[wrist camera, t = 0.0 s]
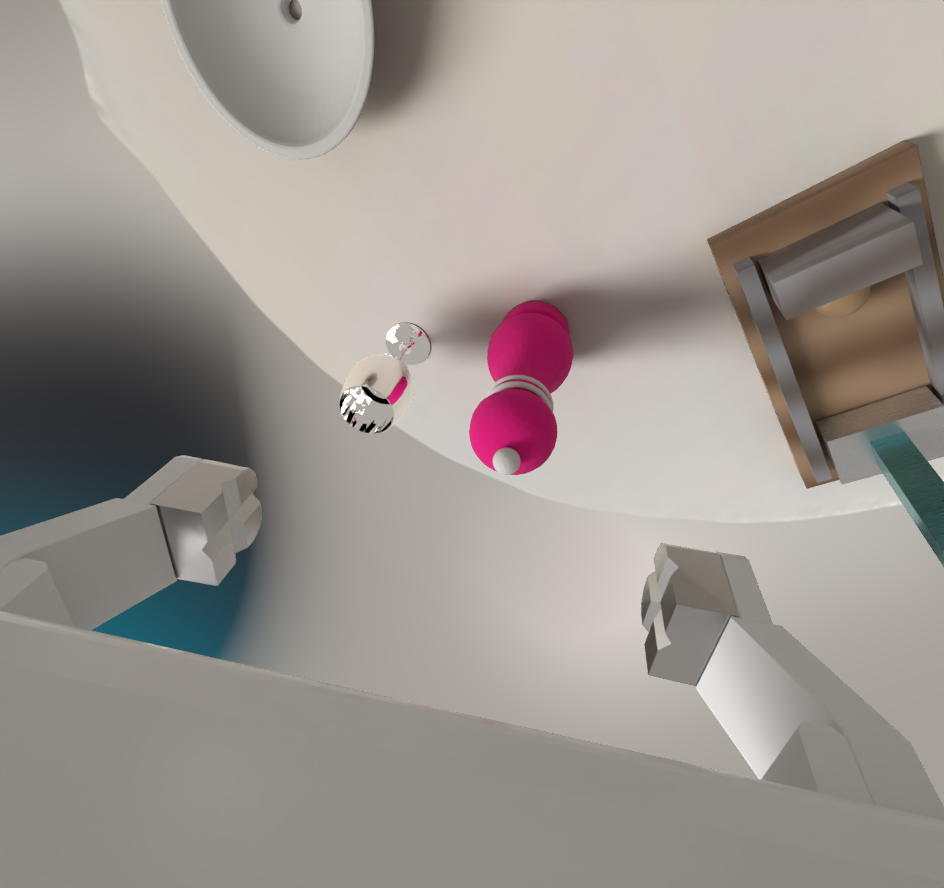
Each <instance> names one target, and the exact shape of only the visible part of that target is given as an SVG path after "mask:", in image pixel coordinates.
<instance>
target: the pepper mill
mask: <svg viewBox="0 0 944 888" xmlns="http://www.w3.org/2000/svg"><path fill="white" fill-rule="evenodd" d="M572 359H573V348H572V344H571V340H570V338H569V328H568V324H567V321H566V320H565V318H564V316H563V315H562V314H561V313H560V312H559V311H558V310H557V309H556V308H555V307H553V306H551V305H549V304H546V303H543V302H537V301H532V302H526V303H522V304H520V305H518V306H516V307H514V308H513V309H512V310H511V311H509V312H508V314H507V315H506V316H505V318H504V320H503V322H502V324H501V325H500V326H499V327H498V328H497V329H496V330H495V332H494V333H493V335H492V337H491V340H490V343H489V347H488V355H487V360H488V366H489V371H490V373H491V376H492V378H493V380H494V381H495V383H494V384H493V385H492V386H491V387H490V389H489V390H488V392H487V395H486V398H485V399H484V400H483V401H481V403H480V404H479V405H478V407H477V408H476V409H475V411H474V413H473V415H472V419H471V423H470V431H469V433H470V441H471V445H472V448H473V450H474V452H475V453H476V455H477V457H478V458H479V459H480V460H481V461H482V462H483V463H484V464H485V465H486V466H488V467H489V468H491V469H493V470H495V471H496V472H499V473H500V474H503V475H518V474H524V473H527V472H530V471H533V470H534V469H536V468H538V467H540V466H541V465H542V464H543V463H544V462H545V461H546V460H547V459H548V458H549V456H550V455H551V453H552V451H553V449H554V447H555V443H556V439H557V423H556V420H555V416H554V414H553V413H552V412H553V400H552V397H551V395H550V394H551V393H552V392H554V391H555V390H556V389H557V388H558V387H559V386H560V385H561V384H562V383H563V382H564V380H565V379H566V377H567V376H568V373H569V371H570V368H571V364H572Z"/></svg>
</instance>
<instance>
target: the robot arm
mask: <svg viewBox="0 0 944 888" xmlns="http://www.w3.org/2000/svg"><path fill="white" fill-rule="evenodd" d="M256 487H257V480H256V475H255V472H254V471H252V470H251V469H250V468H245V467H240V466H235V465H231V464H226V463H221V462H216V461H211V460H203V459H200V458H194V457H190V456H184V455H183V456H178V457H175V458H174V459H173V460H171V461H170V462H169V463H168V464H166V465H165V466H164V467H163V468H161V469H160V470H159V471H158V472H157V473H155V474H154V475H153V476H152V477H150V478H149V479H148V480H147V481H146V482H144V483H143V484H142V485H141V486H139V487H138V488H137V489H136V490H135V491H133V492H132V493H131V494H130V495H128V496H127V497H126V498H125V499H118V498H115V499H112V500H109V501H106V502H103V503H100V504H97V505H94V506H91V507H88V508H85V509H82V510H79V511H76V512H72V513H69V514H67V515H63V516H60V517H57V518H54V519H51V520H48V521H45V522H42V523H39V524H36V525H33V526H30V527H27V528H24V529H21V530H18V531H15V532H11V533H8V534H5V535H2V536H0V888H944V807H943V804H942V803H941V800H940V799H939V797H938V795H937V793H936V791H935V789H934V787H933V785H932V783H931V781H930V780H929V777H928V776H927V773H926V772H925V770H924V768H923V766H922V764H921V762H920V760H919V758H918V756H917V754H916V752H915V750H914V748H913V746H912V745H911V743H910V741H908V739H906V738H905V737H904V736H903V735H902V734H901V733H900V732H899V731H898V730H896V729H895V728H894V727H893V726H892V725H891V724H890V723H888V721H886V720H885V719H884V718H883V717H882V716H881V715H879V713H878V712H876V711H875V710H874V709H873V708H872V707H871V706H870V705H869V704H868V703H866V702H865V701H864V700H863V699H862V698H861V697H859V695H857V694H856V693H855V692H854V691H853V690H852V689H851V688H850V687H849V686H848V685H847V684H845V683H844V682H843V681H842V680H841V679H840V678H839V677H837V676H836V675H835V674H834V673H833V672H832V671H831V670H830V669H829V668H827V667H826V666H825V665H824V664H823V663H822V662H821V661H820V660H819V659H818V658H817V657H815V656H814V655H813V654H812V653H811V652H810V651H809V650H808V649H806V648H805V647H804V646H803V645H802V644H801V643H800V642H799V641H798V640H797V639H795V638H794V637H793V636H792V635H791V634H790V633H789V632H788V631H787V630H785V629H784V628H783V627H782V626H779V625H774V624H773V623H772V620H771V618H770V615H769V612H768V610H767V607H766V604H765V602H764V599H763V597H762V594H761V591H760V589H759V586H758V583H757V581H756V578H755V576H754V573H753V570H752V568H751V565H750V562H749V560H748V559H747V558H746V557H744V556H739V555H732V554H726V553H720V552H716V553H714V552H709V551H703V550H698V549H691V548H686V547H681V546H675V545H669V544H663V543H661V544H660V546H659V547H658V549H657V552H656V554H655V557H654V563H655V570H656V571H655V572H653V573H652V574H650V575H649V576H648V577H647V580H646V584H645V587H644V590H643V596H642V603H641V605H642V606H641V615H642V625H643V626H644V627H645V629H646V630H647V631H648V632H649V634H648V636H647V639H646V642H645V652H646V661H647V669H648V675H651V676H655V677H659V678H663V679H668V680H672V681H676V682H680V683H685V684H689V685H693V686H697V687H696V689H697V691H698V692H699V694H700V695H701V697H702V698H703V699H704V701H705V702H706V704H707V705H708V707H709V708H710V709H711V711H712V712H713V714H714V715H715V717H716V718H717V720H718V721H719V722H720V724H721V725H722V727H723V728H724V730H725V731H726V732H727V734H728V735H729V737H730V738H731V740H732V741H733V743H734V744H735V745H736V747H737V748H738V750H739V751H740V753H741V754H742V755H743V757H744V758H745V760H746V761H747V763H748V764H749V766H750V767H751V768H752V770H753V771H754V773H755V774H756V776H757V777H758V778H759V779H756V778H751V777H747V776H742V775H738V774H733V773H728V772H724V771H720V770H715V769H711V768H706V767H702V766H697V765H692V764H688V763H683V762H679V761H675V760H670V759H665V758H661V757H656V756H652V755H647V754H643V753H639V752H634V751H630V750H625V749H621V748H616V747H612V746H607V745H603V744H598V743H594V742H589V741H585V740H580V739H575V738H571V737H567V736H562V735H558V734H553V733H549V732H545V731H540V730H535V729H531V728H527V727H522V726H518V725H513V724H508V723H504V722H500V721H495V720H490V719H486V718H482V717H477V716H472V715H468V714H464V713H459V712H455V711H450V710H446V709H441V708H437V707H432V706H428V705H423V704H418V703H414V702H409V701H405V700H401V699H396V698H392V697H387V696H382V695H378V694H373V693H369V692H365V691H360V690H355V689H351V688H347V687H342V686H338V685H333V684H329V683H324V682H320V681H315V680H311V679H306V678H302V677H297V676H292V675H288V674H283V673H279V672H274V671H270V670H266V669H261V668H257V667H252V666H248V665H243V664H239V663H234V662H230V661H225V660H221V659H216V658H211V657H207V656H202V655H198V654H193V653H189V652H185V651H180V650H176V649H171V648H167V647H162V646H158V645H153V644H148V643H144V642H140V641H135V640H131V639H126V638H122V637H117V636H112V635H108V634H104V633H99V632H95V631H90V630H92V629H94V628H95V627H97V626H99V625H101V624H102V623H104V622H106V621H108V620H109V619H111V618H113V617H115V616H116V615H118V614H120V613H121V612H123V611H125V610H127V609H128V608H130V607H132V606H133V605H135V604H137V603H139V602H141V601H142V600H144V599H146V598H148V597H149V596H151V595H153V594H154V593H156V592H158V591H160V590H161V589H163V588H164V587H167V586H168V585H170V584H172V583H174V582H175V581H176V579H182V580H187V581H193V582H199V583H205V584H210V585H216V586H217V585H218V584H219V583H220V582H221V581H222V579H223V578H224V577H225V576H226V574H227V573H228V572H229V571H230V569H231V568H232V567H233V566H234V564H235V563H236V557H235V553H236V552H239V551H241V550H243V549H245V548H247V547H249V545H250V544H251V543H252V541H253V540H254V538H255V537H256V535H257V532H258V529H259V527H260V524H261V513H262V512H261V505H260V502H259V501H258V500H257V499H256V497H255V496H254V495H253V494H252V492H253V491H254V490H255V489H256Z"/></svg>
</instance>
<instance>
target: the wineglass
mask: <svg viewBox="0 0 944 888" xmlns="http://www.w3.org/2000/svg"><path fill="white" fill-rule="evenodd" d="M386 346H387V349H388V351H389V353H390V354H391V355H388V354H382V353H376V354H371V355H368V356H366V357H364V358H362V359H361V360H359V361H358V362H357V363H356V364H355V365H354V366H353V367H352V368H351V370H350V371H349V373H348V375H347V377H346V379H345V381H344V384H343V387H342V390H341V394H340V399H339V410H340V413H341V415H342V417H343V418H344V420H345V421H346V422H347V423H348V424H349V425H350V426H351V427H353V428H354V429H356V430H358V431H360V432H363V433H366V434H379V433H383V432H385V431H386V430H388V429H389V428H390V427H392V426H393V425H394V424H395V423H396V422H397V421H398V420H399V419H400V418H401V417H402V416H403V415H404V414H405V412H406V411H407V410H408V408H409V406H410V404H411V402H412V400H413V396H414V390H415V383H414V379H413V376H412V373H411V372H410V370H409V368H408V367H407V366H406V365H405V364H407V365H416V364H419V363H421V362H423V361H424V360H425V359H426V358H427V357H428V355H429V352H430V342H429V339H428V337H427V335H426V334H425V333H424V331H423V330H422V329H420V328H419V327H417V326H416V325H413V324H410V323H399V324H396V325H394V326H393V327H391V328H390V330H389V331H388V333H387V335H386Z"/></svg>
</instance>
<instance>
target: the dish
mask: <svg viewBox="0 0 944 888" xmlns="http://www.w3.org/2000/svg"><path fill="white" fill-rule="evenodd" d="M160 1H161V5H162V8H163V12H164V15H165V17H166V20H167V23H168V26H169V29H170V31H171V34H172V36H173V39H174V41H175V44H176V46H177V48H178V50H179V52H180V54H181V57H182V59H183V61H184V63H185V64H186V66H187V68H188V70H189V72H190V74H191V75H192V77H193V79H194V80H195V82H196V84H197V85H198V87H199V88H200V90H201V91H202V93H203V94H204V96H205V97H206V99H207V100H208V101H209V102H210V104H211V105H212V106H213V108H214V109H215V110H216V111H217V112H218V114H219V115H220V116H221V117H222V118H223V119H224V120H225V121H226V122H227V123H228V124H229V125H230V126H231V127H232V128H233V129H234V130H235V131H236V132H237V133H239V134H240V135H241V136H242V137H243V138H245V139H246V140H248V141H249V142H250V143H252V144H253V145H255V146H257V147H259V148H260V149H262V150H264V151H266V152H268V153H271V154H273V155H276V156H279V157H283V158H288V159H298V160H301V159H310V158H315V157H318V156H321V155H323V154H326V153H327V152H329V151H331V150H332V149H334V148H335V147H336V146H337V145H339V144H340V143H341V142H342V141H343V140H344V139H345V138H346V137H347V135H348V134H349V133H350V131H351V130H352V128H353V127H354V125H355V123H356V122H357V120H358V118H359V116H360V113H361V111H362V109H363V107H364V104H365V101H366V97H367V94H368V90H369V86H370V82H371V76H372V69H373V59H374V18H373V9H372V0H298V1H299V3H300V5H301V9H302V15H301V18H300V19H299V20H296V19H294V18H293V17H292V16H291V14H290V11H289V5H290V2H291V1H292V0H160Z"/></svg>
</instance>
